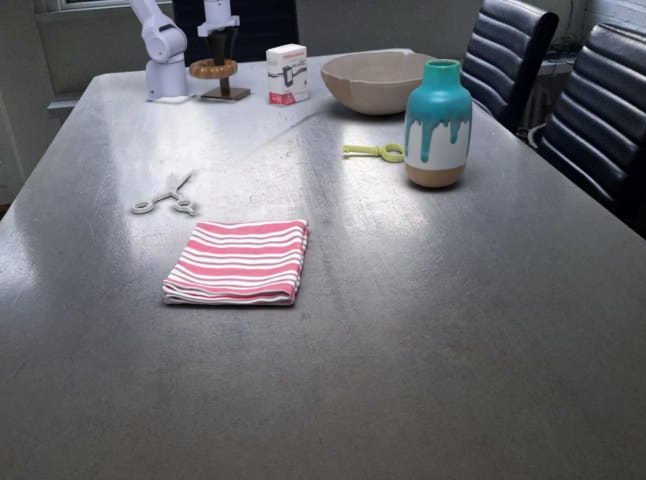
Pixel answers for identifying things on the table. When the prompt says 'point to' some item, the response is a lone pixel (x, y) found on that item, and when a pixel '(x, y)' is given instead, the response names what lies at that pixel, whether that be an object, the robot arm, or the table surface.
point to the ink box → (287, 74)
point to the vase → (438, 126)
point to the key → (378, 151)
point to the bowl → (375, 80)
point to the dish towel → (239, 264)
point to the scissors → (169, 191)
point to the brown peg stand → (226, 91)
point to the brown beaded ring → (212, 69)
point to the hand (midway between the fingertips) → (223, 64)
